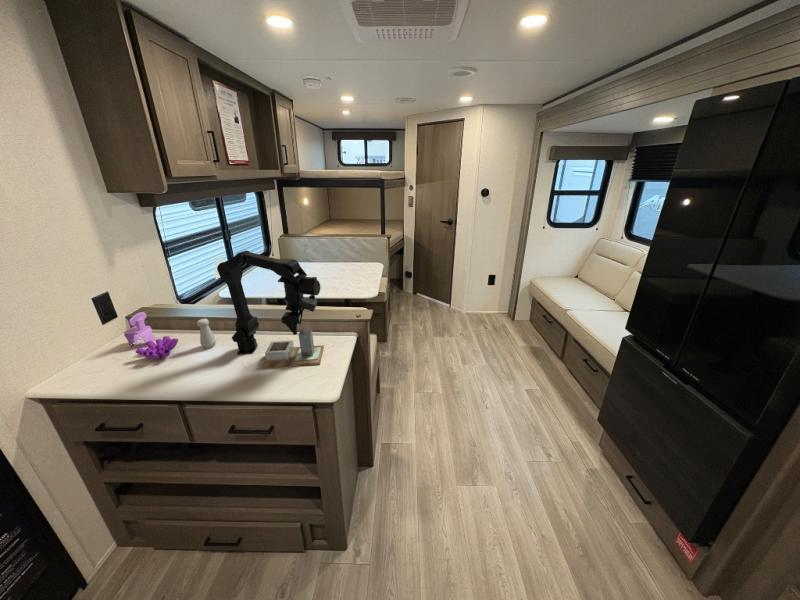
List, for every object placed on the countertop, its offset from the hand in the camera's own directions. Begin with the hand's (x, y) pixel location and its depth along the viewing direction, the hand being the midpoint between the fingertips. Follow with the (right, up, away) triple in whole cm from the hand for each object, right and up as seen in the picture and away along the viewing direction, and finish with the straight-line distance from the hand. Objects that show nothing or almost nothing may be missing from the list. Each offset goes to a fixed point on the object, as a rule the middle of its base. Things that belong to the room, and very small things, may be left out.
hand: (297, 328), depth 123 cm
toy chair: (-74, -8, +15) cm, 76 cm away
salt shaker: (-43, -9, +12) cm, 46 cm away
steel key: (+3, -11, +4) cm, 12 cm away
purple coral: (-59, -12, +6) cm, 61 cm away
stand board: (-2, -12, +4) cm, 13 cm away
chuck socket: (-8, -12, +3) cm, 15 cm away
